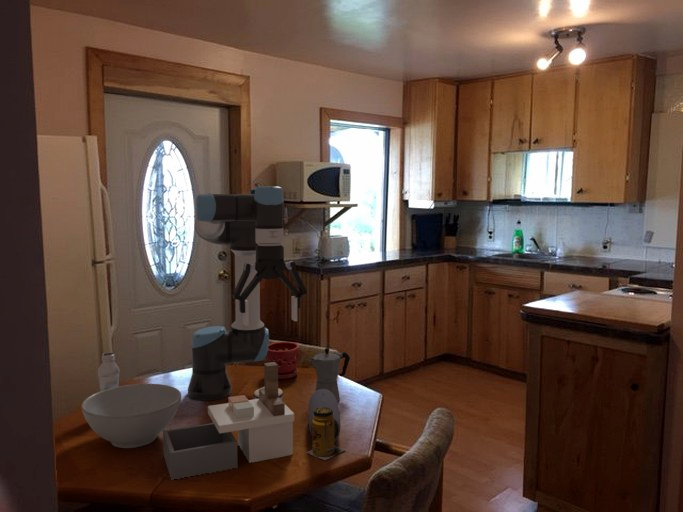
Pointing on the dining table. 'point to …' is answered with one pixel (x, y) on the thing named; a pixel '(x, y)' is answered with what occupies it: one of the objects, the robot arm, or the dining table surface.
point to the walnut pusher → (271, 390)
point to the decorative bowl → (131, 413)
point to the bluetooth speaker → (329, 401)
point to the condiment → (323, 434)
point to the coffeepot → (329, 370)
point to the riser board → (257, 430)
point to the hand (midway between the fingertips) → (270, 322)
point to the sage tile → (243, 410)
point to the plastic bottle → (108, 372)
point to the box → (198, 450)
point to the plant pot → (284, 358)
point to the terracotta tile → (236, 400)
